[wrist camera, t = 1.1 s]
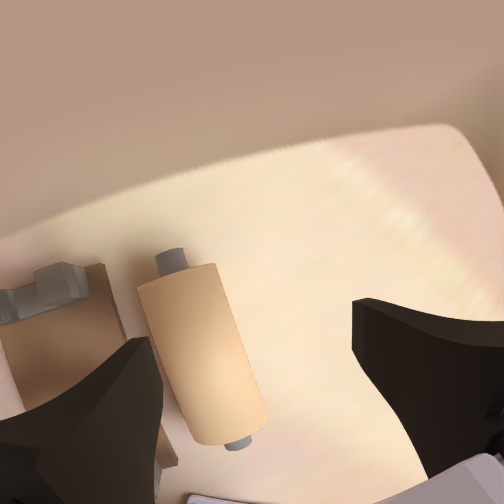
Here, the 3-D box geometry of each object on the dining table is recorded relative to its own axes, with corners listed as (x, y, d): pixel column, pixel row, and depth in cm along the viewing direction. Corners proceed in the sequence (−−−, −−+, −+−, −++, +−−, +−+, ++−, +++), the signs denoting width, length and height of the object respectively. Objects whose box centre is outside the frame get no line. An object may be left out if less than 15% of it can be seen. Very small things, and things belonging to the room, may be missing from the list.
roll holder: (178, 459, 19) (174, 494, 14) (68, 477, 17) (46, 507, 12) (104, 264, 20) (79, 255, 16) (-2, 302, 19) (-40, 301, 14)
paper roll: (271, 418, 21) (280, 449, 16) (205, 437, 20) (199, 471, 15) (210, 245, 22) (204, 232, 17) (142, 268, 21) (117, 262, 16)
